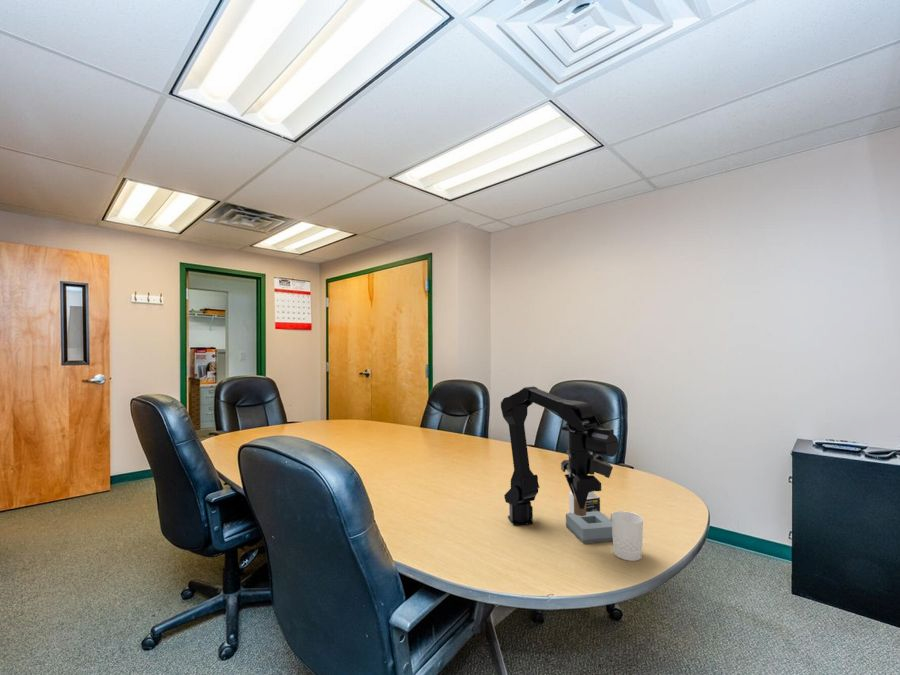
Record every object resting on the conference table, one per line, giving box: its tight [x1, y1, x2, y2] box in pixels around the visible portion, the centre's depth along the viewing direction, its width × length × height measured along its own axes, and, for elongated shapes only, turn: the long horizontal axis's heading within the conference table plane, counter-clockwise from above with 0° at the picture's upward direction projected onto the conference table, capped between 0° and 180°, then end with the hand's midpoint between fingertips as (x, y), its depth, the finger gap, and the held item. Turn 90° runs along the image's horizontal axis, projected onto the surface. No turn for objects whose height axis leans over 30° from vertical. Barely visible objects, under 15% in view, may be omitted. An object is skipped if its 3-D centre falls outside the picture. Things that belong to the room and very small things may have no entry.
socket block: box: [565, 510, 613, 544], centre depth 121 cm, size 11×11×4 cm
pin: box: [574, 494, 586, 516], centre depth 111 cm, size 3×3×8 cm
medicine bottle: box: [568, 491, 601, 513], centre depth 133 cm, size 7×7×12 cm
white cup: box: [610, 510, 644, 562], centre depth 108 cm, size 8×8×10 cm
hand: (579, 505), depth 111 cm, fingers closed on pin, 3 cm apart
